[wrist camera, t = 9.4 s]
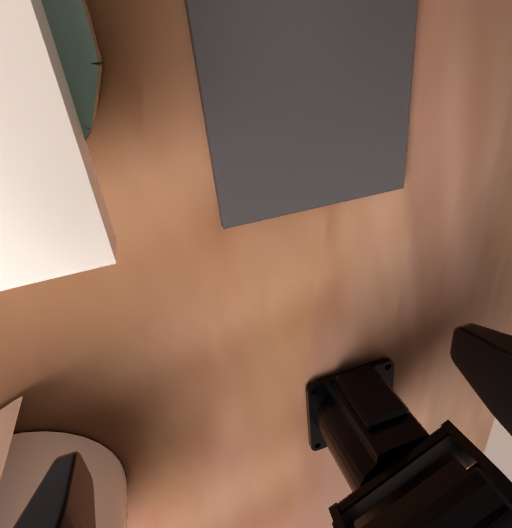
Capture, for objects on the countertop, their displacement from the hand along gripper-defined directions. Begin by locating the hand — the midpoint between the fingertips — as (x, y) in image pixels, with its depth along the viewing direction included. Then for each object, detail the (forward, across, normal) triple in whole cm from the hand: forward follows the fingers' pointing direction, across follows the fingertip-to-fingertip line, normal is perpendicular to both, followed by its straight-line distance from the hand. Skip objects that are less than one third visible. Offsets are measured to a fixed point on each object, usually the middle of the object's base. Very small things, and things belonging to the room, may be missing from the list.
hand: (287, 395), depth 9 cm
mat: (+12, -6, -7) cm, 15 cm away
